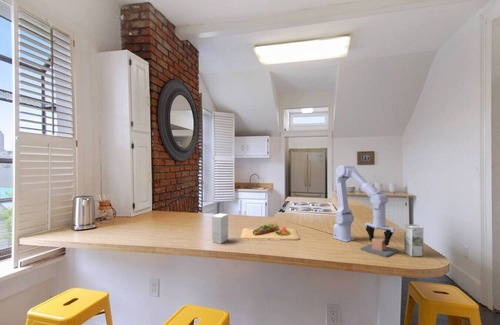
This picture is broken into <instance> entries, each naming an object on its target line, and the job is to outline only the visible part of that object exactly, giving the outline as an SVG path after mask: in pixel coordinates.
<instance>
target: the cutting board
mask: <svg viewBox="0 0 500 325" xmlns="http://www.w3.org/2000/svg"><path fill="white" fill-rule="evenodd" d="M241 230H242V231H241V234H240V239H241V238H242V239H280V240H279V241H299V240H300V236H299V235H298V232H297V231H296V229H295V228H292V227H286V226H283V227H280V226H279V225H278V224H277V223H276V222H275V223H274V222H273V223H269V224H265V223H263V225H261V226H259V227H244V228H242V229H241ZM242 239H241V240H242Z"/></svg>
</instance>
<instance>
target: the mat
mask: <svg viewBox="0 0 500 325" xmlns="http://www.w3.org/2000/svg"><path fill="white" fill-rule="evenodd" d="M360 251H363V252H366V253H370V254H374V255H377V256H380V257H384V258H388V257H390V256H392V255H394V254H396V253H398V252H399V249H397V248H393V247H389V246H386V250H383V251H379V250H375V249H372V243H371V244H368V245H365V246H362V247H360Z"/></svg>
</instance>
